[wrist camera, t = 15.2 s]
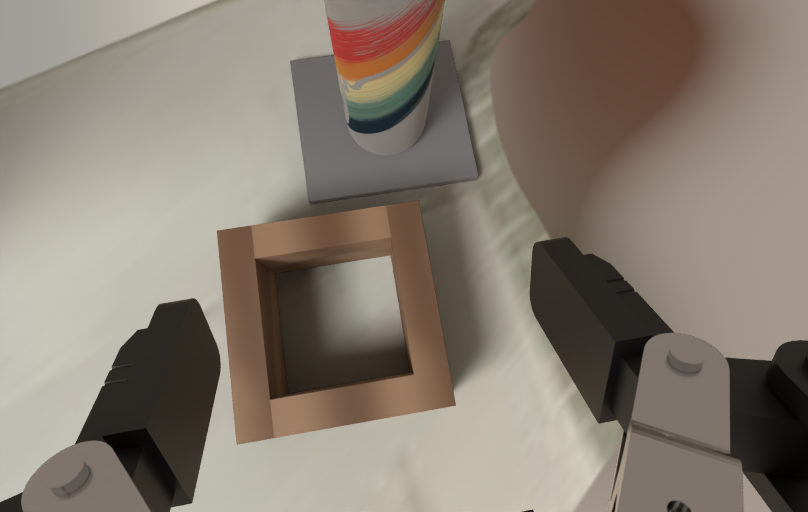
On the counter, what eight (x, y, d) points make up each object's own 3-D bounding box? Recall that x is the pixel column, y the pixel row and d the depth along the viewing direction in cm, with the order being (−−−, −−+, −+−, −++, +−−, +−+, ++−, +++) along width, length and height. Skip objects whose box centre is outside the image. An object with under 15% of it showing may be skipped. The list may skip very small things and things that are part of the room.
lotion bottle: (333, 103, 35) (264, -219, 16) (404, 73, 36) (422, -271, 16) (367, 170, 34) (338, -84, 15) (438, 138, 35) (504, -146, 15)
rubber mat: (310, 204, 34) (308, 201, 33) (291, 65, 36) (290, 60, 36) (476, 179, 35) (478, 176, 34) (448, 45, 37) (449, 40, 36)
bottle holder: (260, 431, 31) (236, 444, 26) (242, 249, 33) (217, 230, 28) (445, 398, 32) (455, 405, 27) (414, 223, 34) (418, 200, 29)
